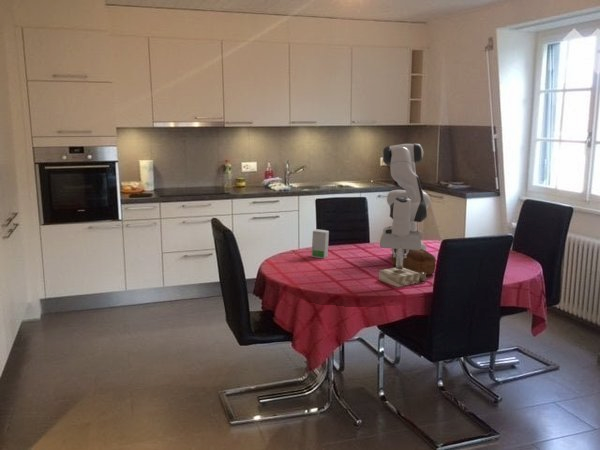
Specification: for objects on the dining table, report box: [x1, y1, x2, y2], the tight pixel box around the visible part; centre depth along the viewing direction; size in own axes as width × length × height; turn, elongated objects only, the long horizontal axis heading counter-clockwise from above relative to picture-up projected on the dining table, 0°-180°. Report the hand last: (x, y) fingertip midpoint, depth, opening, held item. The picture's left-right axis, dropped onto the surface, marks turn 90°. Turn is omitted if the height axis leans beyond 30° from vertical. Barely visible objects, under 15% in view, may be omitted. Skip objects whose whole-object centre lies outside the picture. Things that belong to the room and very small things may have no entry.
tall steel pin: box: [395, 246, 404, 269], centre depth 287 cm, size 4×4×12 cm
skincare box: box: [311, 228, 330, 259], centre depth 336 cm, size 8×7×16 cm
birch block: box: [378, 267, 420, 288], centre depth 289 cm, size 14×14×5 cm
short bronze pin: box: [419, 272, 427, 283], centre depth 289 cm, size 4×4×4 cm
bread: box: [391, 249, 437, 276], centre depth 310 cm, size 14×28×12 cm, turn 22°
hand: (399, 257), depth 287 cm, fingers closed on tall steel pin, 4 cm apart
